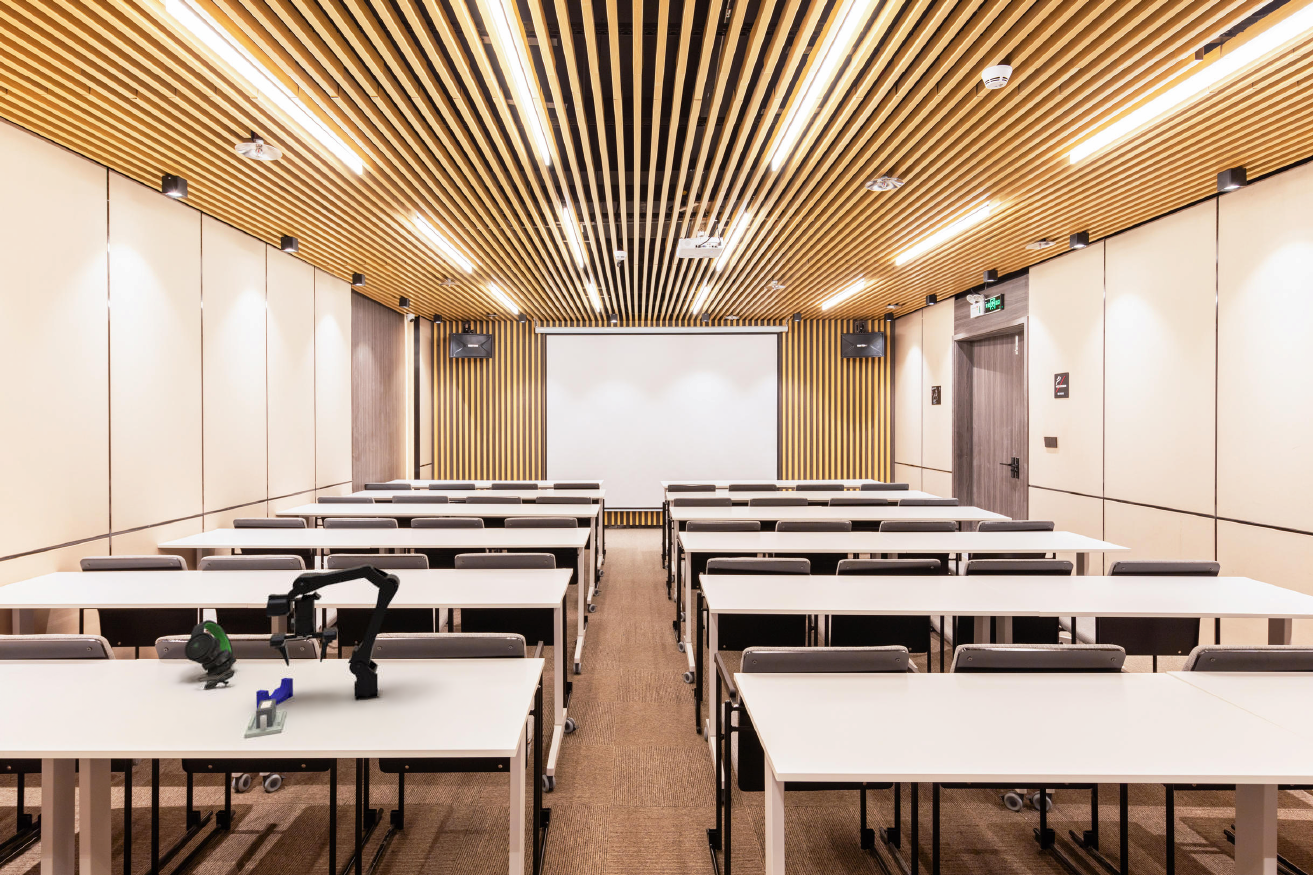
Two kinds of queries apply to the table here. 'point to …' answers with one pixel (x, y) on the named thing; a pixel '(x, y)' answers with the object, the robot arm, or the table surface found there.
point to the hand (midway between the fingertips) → (304, 663)
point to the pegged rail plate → (265, 725)
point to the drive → (266, 712)
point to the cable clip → (277, 692)
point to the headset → (211, 652)
